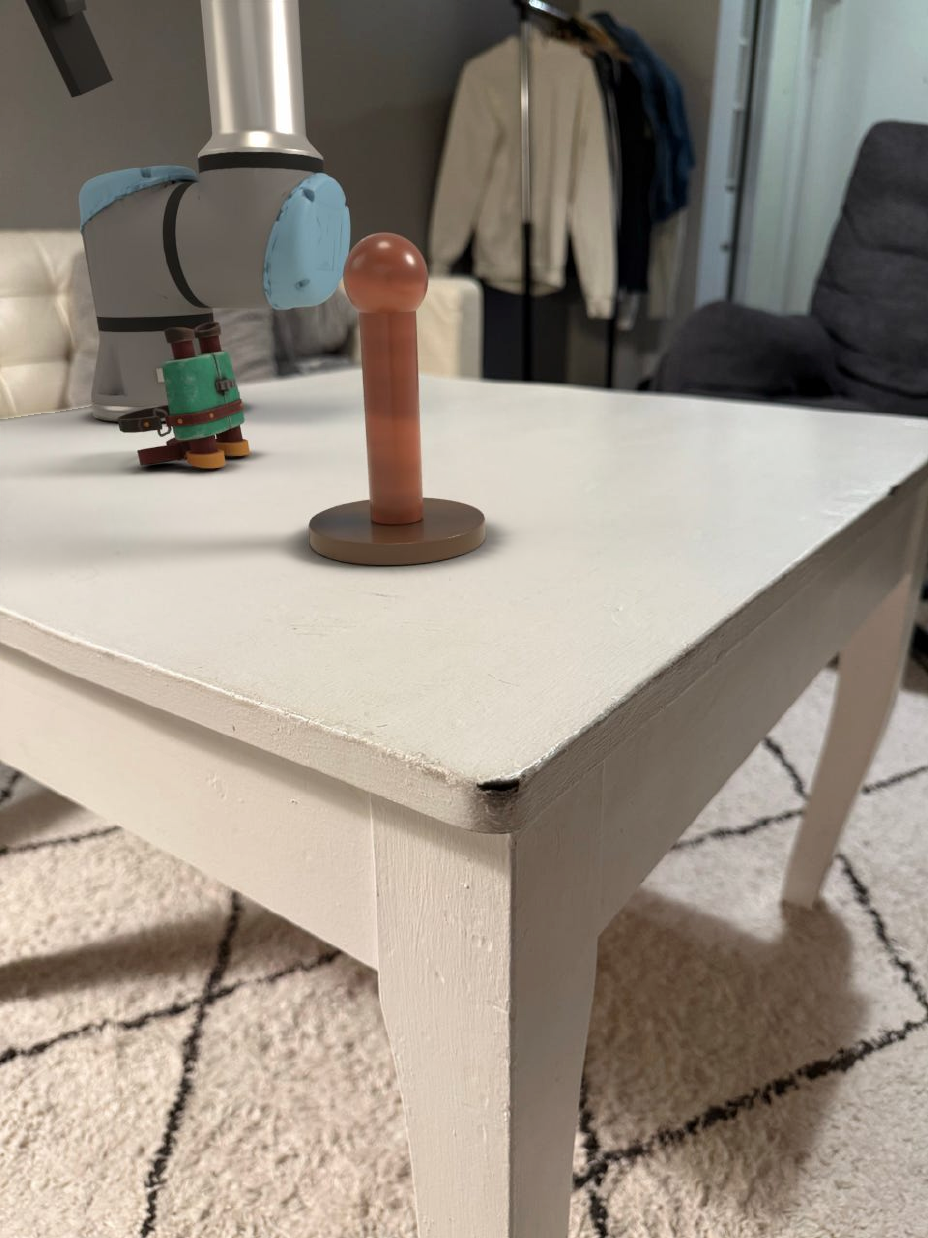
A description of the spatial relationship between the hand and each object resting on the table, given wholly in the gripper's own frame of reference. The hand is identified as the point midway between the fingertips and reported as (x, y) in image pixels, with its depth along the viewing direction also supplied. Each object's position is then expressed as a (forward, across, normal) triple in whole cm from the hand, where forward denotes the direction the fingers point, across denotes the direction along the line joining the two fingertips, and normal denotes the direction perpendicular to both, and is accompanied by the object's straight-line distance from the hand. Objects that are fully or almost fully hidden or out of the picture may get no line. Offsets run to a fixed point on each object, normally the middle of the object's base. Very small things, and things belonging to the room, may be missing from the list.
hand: (13, 110), depth 54 cm
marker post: (+24, +23, -8) cm, 34 cm away
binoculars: (+26, -4, +3) cm, 27 cm away
